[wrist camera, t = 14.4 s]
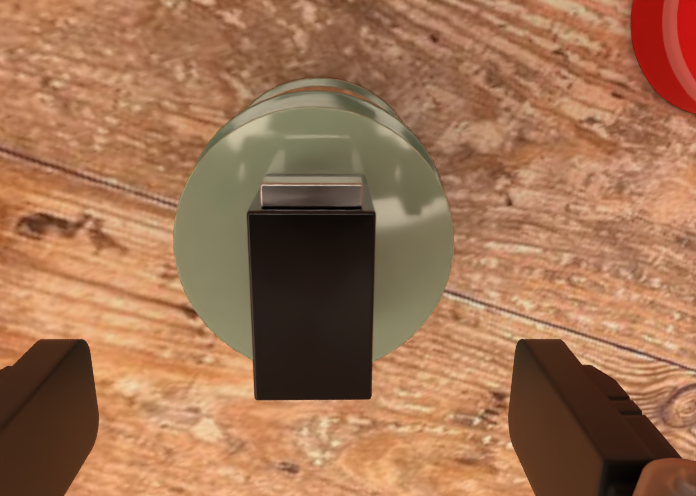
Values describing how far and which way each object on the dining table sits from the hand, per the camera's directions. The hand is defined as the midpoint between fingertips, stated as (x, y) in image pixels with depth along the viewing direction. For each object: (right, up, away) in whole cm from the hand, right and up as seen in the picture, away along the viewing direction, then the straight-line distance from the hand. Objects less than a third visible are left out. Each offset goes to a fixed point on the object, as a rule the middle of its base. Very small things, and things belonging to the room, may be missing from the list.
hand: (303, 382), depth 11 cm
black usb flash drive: (0, +2, +7) cm, 8 cm away
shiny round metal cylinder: (-1, +6, +18) cm, 19 cm away
